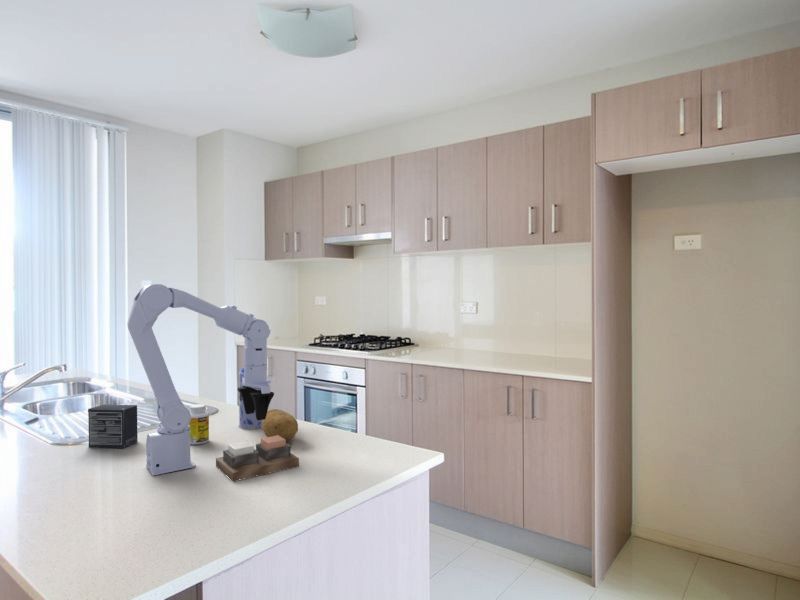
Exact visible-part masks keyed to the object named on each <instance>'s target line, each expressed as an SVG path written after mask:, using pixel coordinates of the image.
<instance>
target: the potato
mask: <svg viewBox="0 0 800 600" xmlns="http://www.w3.org/2000/svg"><path fill="white" fill-rule="evenodd" d="M261 428H262V430H263V433H264V435H265V437H271V436H276V435H279V436H280V437H282V438H284V439H285V440H286V442H287V441H289V440H291V439H293V438H294V437H295V436H296V435H297V433H298V431H299V423H298V421H297V418H295V417H294V416H293V415H292V414H290V413H289V412H286V411H284V410H281V409H275V408H274V409H273V408H271V409H268V411H267V415H266V419H264V420H262V427H261Z"/></svg>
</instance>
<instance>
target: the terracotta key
mask: <svg viewBox="0 0 800 600" xmlns="http://www.w3.org/2000/svg"><path fill="white" fill-rule="evenodd" d="M260 443H261V446H262V447H264V448H265V449H267V450H269V449H274V448H278V447H283V446H286V443H287V441H286V440H285V439H284V438H282V437H280V436H279V435H276V436H271V437H267V436H265V437H262V438H260Z"/></svg>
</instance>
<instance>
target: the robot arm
mask: <svg viewBox="0 0 800 600" xmlns="http://www.w3.org/2000/svg"><path fill="white" fill-rule="evenodd" d="M168 308H172V309H178V308H185V309H187V310H190V311H193V312H195V313H198V314H201V315H203V316H206V317H207V318H211V319H213V320H214V322H215V325H216V326H217V327H219V328H220V329H224V330H226V331H228V332H231V333H233V334H236V335H238V336H242V337H243V338H244V347H243V368H244V378H242V385H244V386H243V387H239V386H238V387H237V392H238V394H239V393H240V395H241V397H242V400H243V404H244V409H245V413H246V414H252V413H254V412H255V414H256V419H257V420H264V419H266V415H267V411H269V406H270V404H271V402H272V400H273V398H274V396H275V392H273V391H271V385H270V384H271V383H272V380H271V379H268V373H267V372H268V366H267V365H268V346H267V345H268V342H267V341H268V340H267V339H268V338H269V337H270V335H271V331H272V330H271V329H270V327H269V325H268V323H267V322H266V321H265V320H263V319H260V318H259V319H258V318H256V317H254V316H255V315H254V314H253V313H246V312H243V311H241V310H239V309H237V308H238V306H235V305H232V304H231V305H226V304H225V305H224V306H221V307H218V306H217V305H214V304H212V303H210V302H208V301H206V300H204V299H202V298H199V297H198V296H195V295H194V294H191V293H190V292H186V291H184V290H181V289H177V288H173V287H168V286H166V285H165V284H162V283H149V284H146V285H144V286H143V287H142V288H141V289H140V290H139V291H138V293H137V294H136V295H135V297H134V298H133V304H132V307H131V311H130V313H129V317H128V321H127V329H128V332H129V334H130V337H131V339H132V342H133V345H134V346H135V349H136V351H137V354H138V356H139V359H140V362H141V364H142V366H143V367H142V368H143V369H144V371H145V374H146V377H147V379H148V382H149V384H150V386H151V387H150V388H151V389H152V392H153V394H154V398H155V401H156V404H157V410H156V415H157V418H158V419H159V421H160V422H161V423H160V424H159V425H158V426H157V429H156V431H155V432H151V433H148V434H147V435H146V465H145V466H146V468H147V469H148V471H149V472H150V474H151V475H152V476H158V475H162V474H167V473H172V472H177V471H181V470H186V469H191V468H196V467H197V465H196V464H195V463H194V461H193V460H192V459H191V444H190V425H189V423H190V421H191V413H190V409H188V407H186V406H185V404H184V403H183V402H182V401H181V398H180V396H179V394H178V391H177V390H176V387H175V385H174V382H173V380H172V377H171V374H170V372H169V369H168V367H167V364H166V362H165V358H164V356H163V354H162V351H161V349H160V345H159V343H158V341H157V338H156V336H155V333H154V331H153V326H154V324H155V322H156V321H157V320H158V318H159V316H160V315H161V314H163V313H164V311H166V310H167V309H168Z"/></svg>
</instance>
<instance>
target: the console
mask: <svg viewBox="0 0 800 600" xmlns="http://www.w3.org/2000/svg"><path fill="white" fill-rule="evenodd" d="M291 449H292V447H291V444H288V443H287V442H286V446H283V447H278V448H274V449H269V450H267V449H265V448H264V447H262V446H261V442H260V443H256V444H255V448H254V453H249V454H244V455H239V456H235V457H234V456H233V455H231V454H230V453H229V452H228V449H225V450H222V456H219V457H215V467H216V468H217V469H218V470H219V469H220V470H219V471H220V472H221V473H223V474H224V475H225V476H226V475H227V476H228V477H229V478H230V479H231V480H230V479H229V478H228V477H227V476H226V477H227V478H228V479H229V480H230V481H232V482H233V481H234V482H237V481H236V480H239V479H243V478H247V479H250V478H249V477H251V478H254V477H253V476H255V477H257V476H256V475H260V476H262V475H261V474H264V475H267V474H266V473H268V474H270V473H269V472H272V473H275V472H274V471H277V472H280V471H279V470H281V471H284V470H283V469H285V470H288V469H287V468H289V469H293V467H294V468H298V467H300V457H298V456H296V455H295V454H293V453H292V452H291V451H292V450H291ZM297 466H298V467H297ZM243 480H244V479H243ZM239 481H240V480H239Z"/></svg>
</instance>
